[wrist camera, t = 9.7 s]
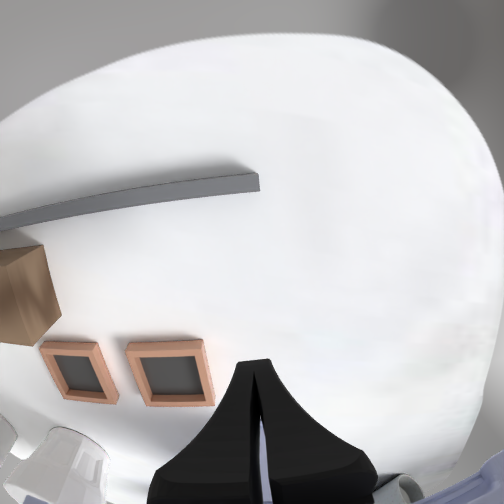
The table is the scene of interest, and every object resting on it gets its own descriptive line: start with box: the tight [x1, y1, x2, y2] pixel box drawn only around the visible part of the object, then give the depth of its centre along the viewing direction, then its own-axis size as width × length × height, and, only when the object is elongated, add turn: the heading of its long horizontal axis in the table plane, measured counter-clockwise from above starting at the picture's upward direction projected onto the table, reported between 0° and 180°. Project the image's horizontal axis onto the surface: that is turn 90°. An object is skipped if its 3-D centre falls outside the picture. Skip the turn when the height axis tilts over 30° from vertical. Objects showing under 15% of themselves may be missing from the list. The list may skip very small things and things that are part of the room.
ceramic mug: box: [372, 474, 425, 504], centre depth 29 cm, size 11×8×8 cm
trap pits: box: [39, 340, 215, 407], centre depth 22 cm, size 6×15×1 cm, turn 95°
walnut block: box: [0, 245, 62, 346], centre depth 18 cm, size 6×6×5 cm
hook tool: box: [0, 173, 260, 343], centre depth 19 cm, size 11×27×2 cm, turn 95°
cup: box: [3, 427, 110, 504], centre depth 22 cm, size 12×12×11 cm
